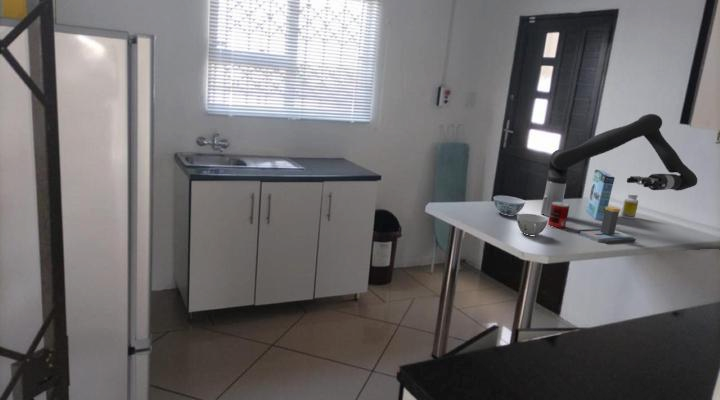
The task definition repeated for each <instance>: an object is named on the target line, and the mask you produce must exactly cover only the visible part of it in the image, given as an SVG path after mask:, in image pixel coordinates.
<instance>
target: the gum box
mask: <svg viewBox="0 0 720 400" xmlns="http://www.w3.org/2000/svg"><path fill="white" fill-rule="evenodd" d="M614 182H615V176H613V175H611V174H610V173H609V172H606V171H605V170H600V169H595V170H594V173H593V178H592V183H591V187H590V191H589V195H588V201H587V205H586V210H585V211H586V212H587V213H588V214H590V216H591V217H592V218H593V219H594V221H601V222H603V218H604V213H605V207H609V203H610V199H611V195H612V191H613V186H614Z"/></svg>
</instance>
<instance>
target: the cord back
mask: <svg viewBox="0 0 720 400" xmlns="http://www.w3.org/2000/svg"><path fill="white" fill-rule="evenodd" d="M580 231H601V228H588V229H585V228H584V229H583V228H582V229H578V232H579V233H578V234H580Z"/></svg>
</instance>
